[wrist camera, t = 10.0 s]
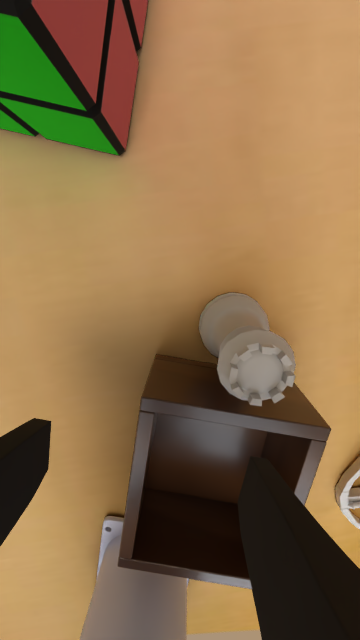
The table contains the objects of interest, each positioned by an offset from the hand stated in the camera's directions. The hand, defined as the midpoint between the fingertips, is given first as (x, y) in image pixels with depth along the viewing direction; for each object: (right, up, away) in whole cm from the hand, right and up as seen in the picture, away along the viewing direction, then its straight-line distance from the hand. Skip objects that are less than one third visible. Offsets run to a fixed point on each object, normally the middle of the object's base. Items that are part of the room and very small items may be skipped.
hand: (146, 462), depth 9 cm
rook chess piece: (+5, +5, +9) cm, 11 cm away
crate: (+3, -4, +11) cm, 12 cm away
